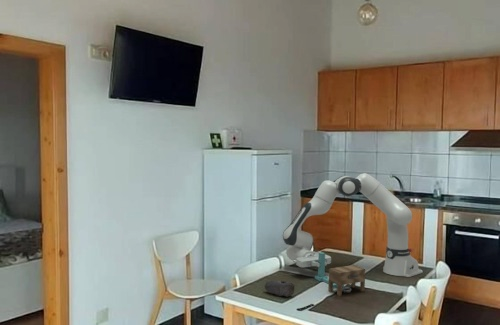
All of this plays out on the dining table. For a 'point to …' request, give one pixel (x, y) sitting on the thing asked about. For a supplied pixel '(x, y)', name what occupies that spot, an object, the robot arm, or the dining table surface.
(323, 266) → the teal post stand
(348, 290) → the metal token
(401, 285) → the dining table surface
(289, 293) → the perforated stone tool
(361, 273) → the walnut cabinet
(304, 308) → the cleaver
